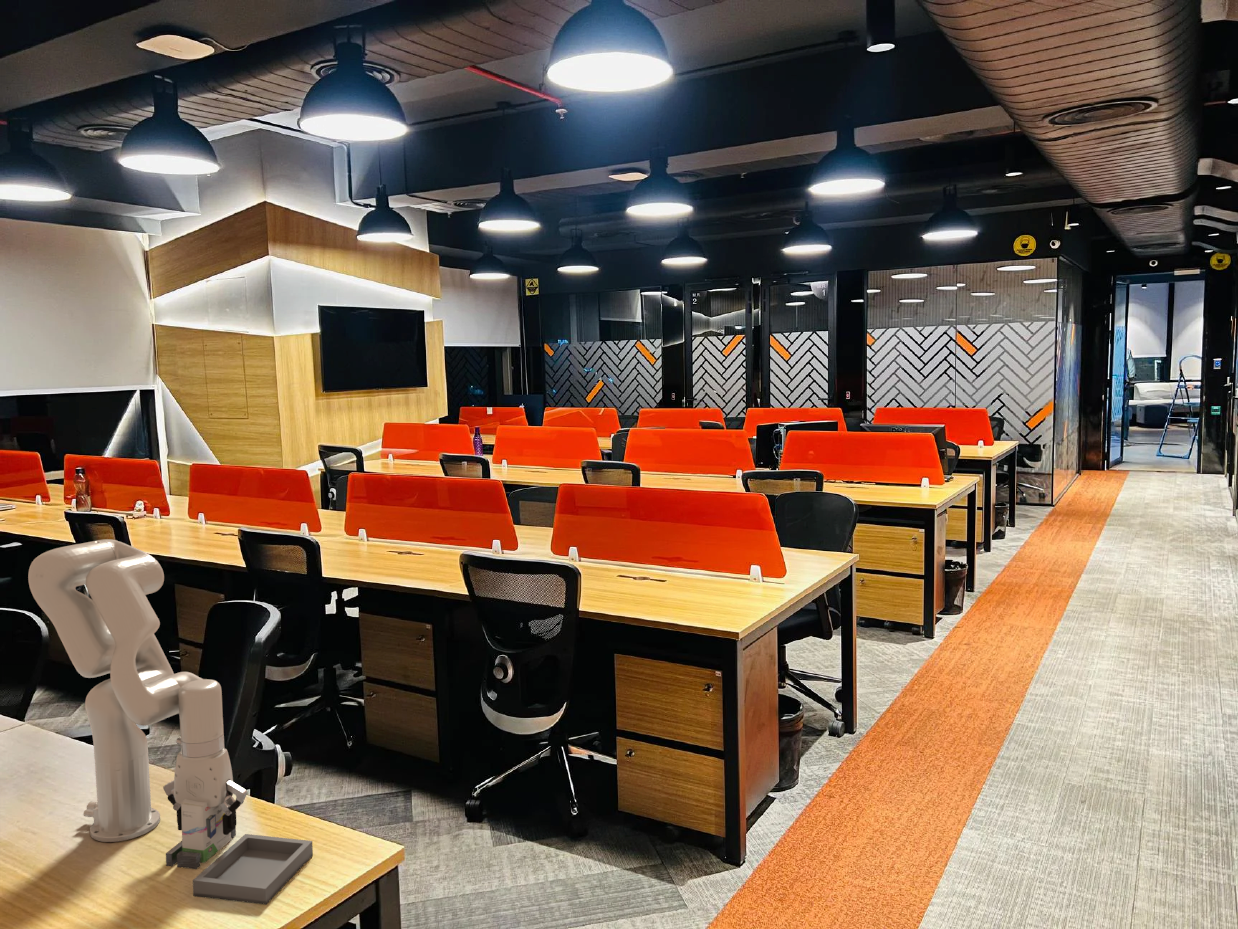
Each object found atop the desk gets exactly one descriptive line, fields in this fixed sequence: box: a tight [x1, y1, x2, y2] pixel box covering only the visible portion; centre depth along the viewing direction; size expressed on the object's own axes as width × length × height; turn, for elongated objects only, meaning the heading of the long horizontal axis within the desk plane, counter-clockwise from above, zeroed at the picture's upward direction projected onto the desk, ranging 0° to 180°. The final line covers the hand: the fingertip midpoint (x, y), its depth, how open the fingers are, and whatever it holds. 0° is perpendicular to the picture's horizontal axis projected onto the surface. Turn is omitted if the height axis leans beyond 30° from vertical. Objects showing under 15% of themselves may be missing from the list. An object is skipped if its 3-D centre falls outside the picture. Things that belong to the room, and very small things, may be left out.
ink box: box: [181, 799, 232, 864], centre depth 175 cm, size 9×5×12 cm, turn 168°
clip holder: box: [165, 826, 237, 870], centre depth 175 cm, size 6×13×2 cm, turn 170°
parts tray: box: [192, 833, 314, 906], centre depth 167 cm, size 14×16×3 cm
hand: (207, 829), depth 175 cm, fingers open, 9 cm apart
